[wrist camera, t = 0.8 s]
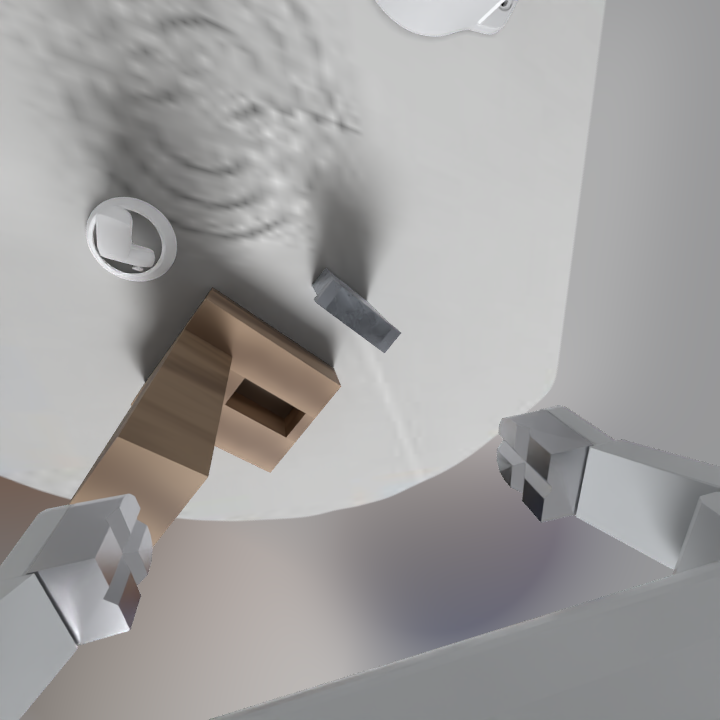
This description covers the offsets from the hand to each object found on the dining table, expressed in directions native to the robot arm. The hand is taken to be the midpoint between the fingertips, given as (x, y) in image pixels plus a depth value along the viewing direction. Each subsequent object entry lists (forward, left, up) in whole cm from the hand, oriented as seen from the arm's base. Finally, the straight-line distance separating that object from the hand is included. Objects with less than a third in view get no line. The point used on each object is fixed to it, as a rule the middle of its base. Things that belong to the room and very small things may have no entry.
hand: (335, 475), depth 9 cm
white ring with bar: (+7, -12, -35) cm, 38 cm away
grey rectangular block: (-1, +7, -35) cm, 36 cm away
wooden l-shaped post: (+13, +4, -35) cm, 37 cm away
